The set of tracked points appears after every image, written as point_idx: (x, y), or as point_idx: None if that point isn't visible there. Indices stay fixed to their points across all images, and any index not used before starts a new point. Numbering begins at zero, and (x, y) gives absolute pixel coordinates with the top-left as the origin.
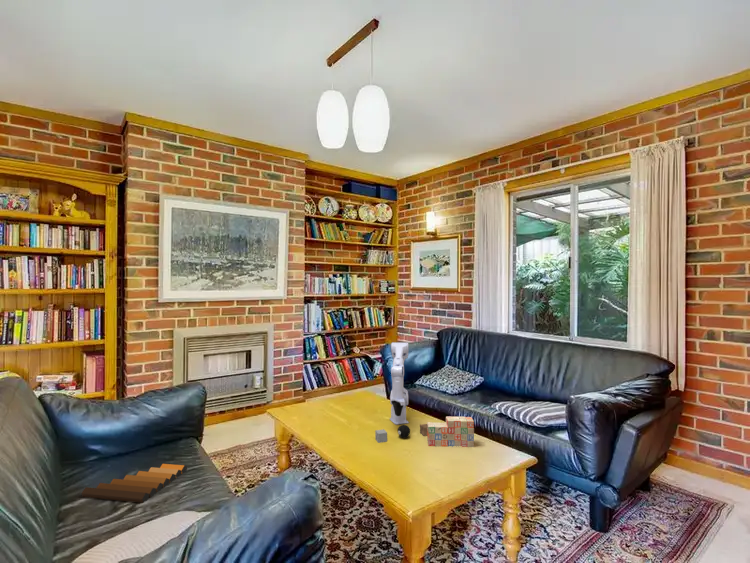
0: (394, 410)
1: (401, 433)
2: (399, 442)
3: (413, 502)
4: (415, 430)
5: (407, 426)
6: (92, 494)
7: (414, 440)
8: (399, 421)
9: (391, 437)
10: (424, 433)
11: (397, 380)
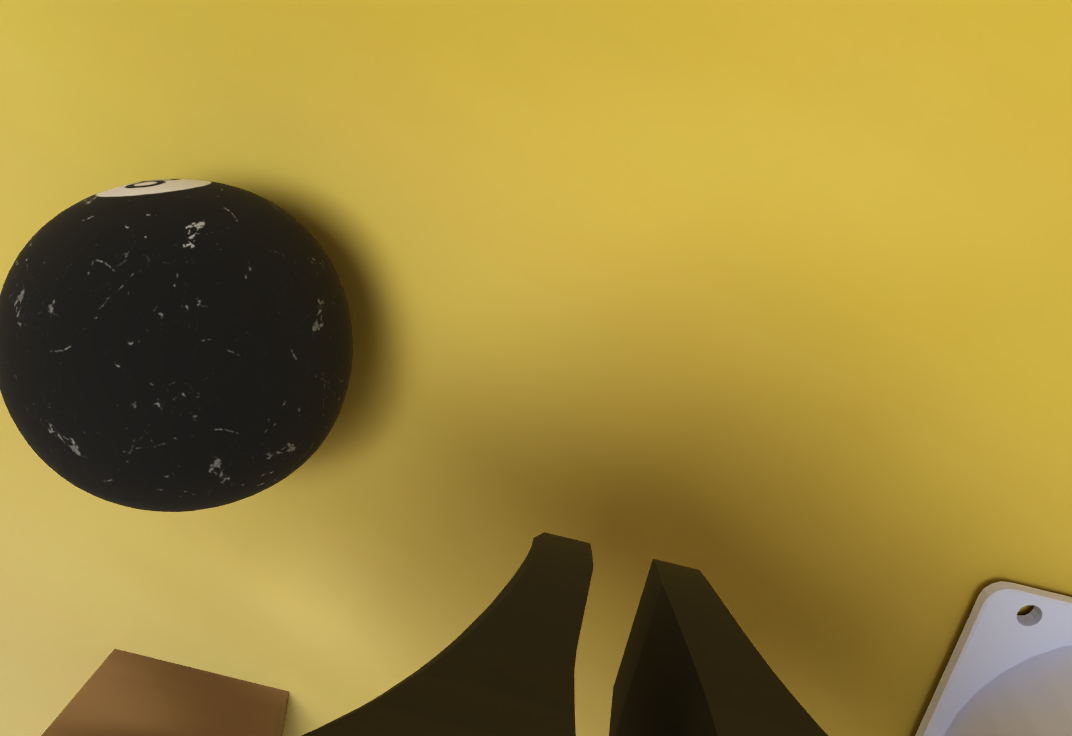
0: (747, 654)
1: (80, 201)
2: (23, 32)
3: None
4: None
5: (65, 468)
6: None
7: None
8: (992, 716)
9: (377, 37)
10: (83, 700)
11: None
